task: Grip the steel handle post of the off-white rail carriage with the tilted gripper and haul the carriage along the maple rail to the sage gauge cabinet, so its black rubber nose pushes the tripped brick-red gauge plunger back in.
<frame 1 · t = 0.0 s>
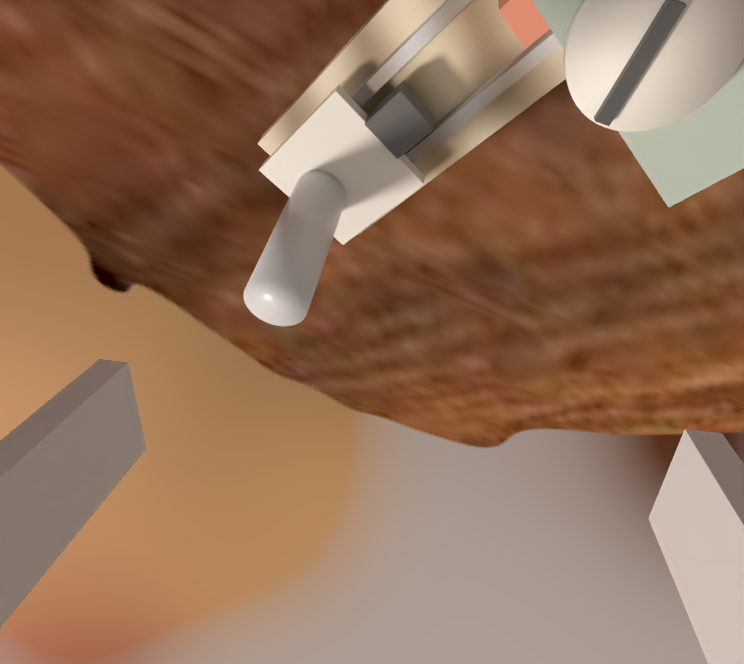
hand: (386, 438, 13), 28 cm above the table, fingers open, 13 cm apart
carriage: (340, 205, 30), point 9 cm above the table, slide at 8.7 cm
rail track: (411, 93, 34), on the table
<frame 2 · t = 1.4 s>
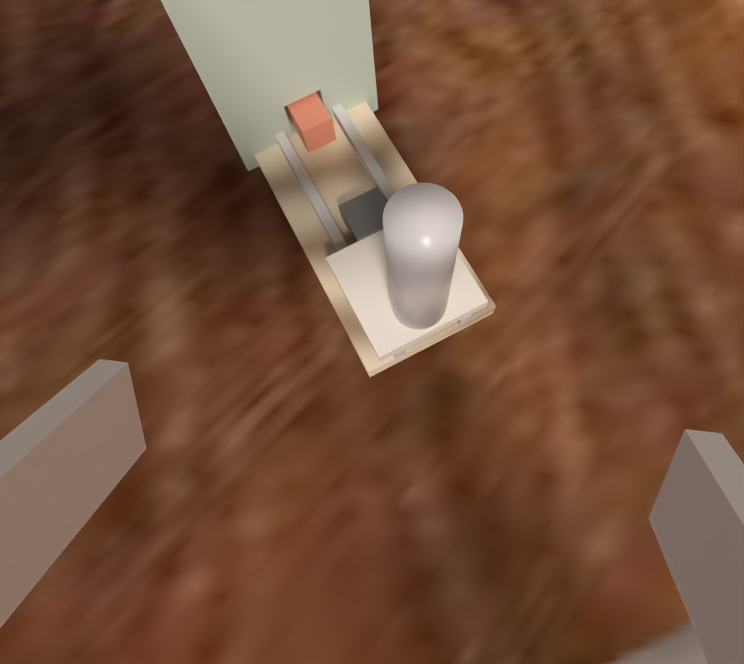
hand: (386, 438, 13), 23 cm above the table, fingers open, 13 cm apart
gauge plunger: (308, 116, 39), point 3 cm above the table, slide at 2.5 cm
carriage: (391, 224, 30), point 9 cm above the table, slide at 8.7 cm
gauge cabinet: (303, 122, 43), on the table
rail track: (368, 235, 40), on the table
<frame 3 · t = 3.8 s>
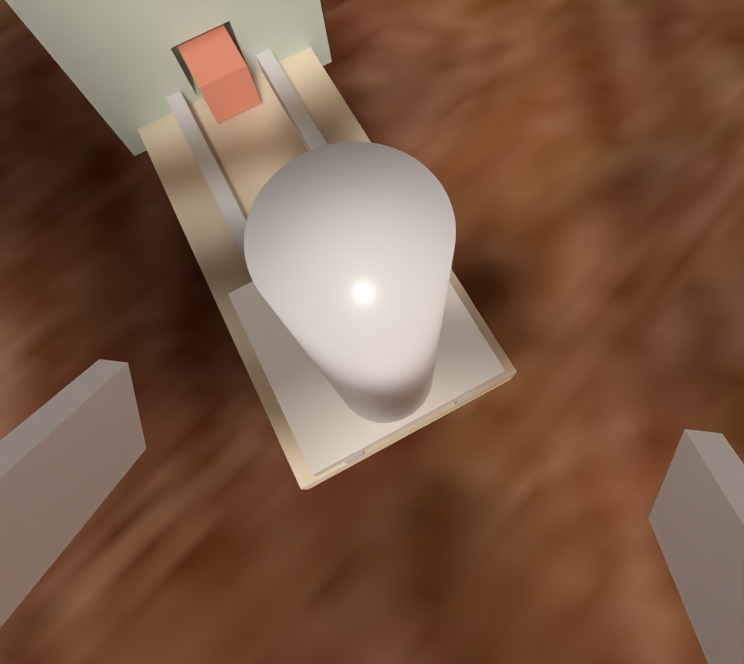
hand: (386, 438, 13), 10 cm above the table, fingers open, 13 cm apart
gauge plunger: (216, 67, 25), point 3 cm above the table, slide at 2.5 cm
carriage: (321, 241, 16), point 9 cm above the table, slide at 8.7 cm
gauge cabinet: (221, 83, 29), on the table
rail track: (312, 251, 25), on the table
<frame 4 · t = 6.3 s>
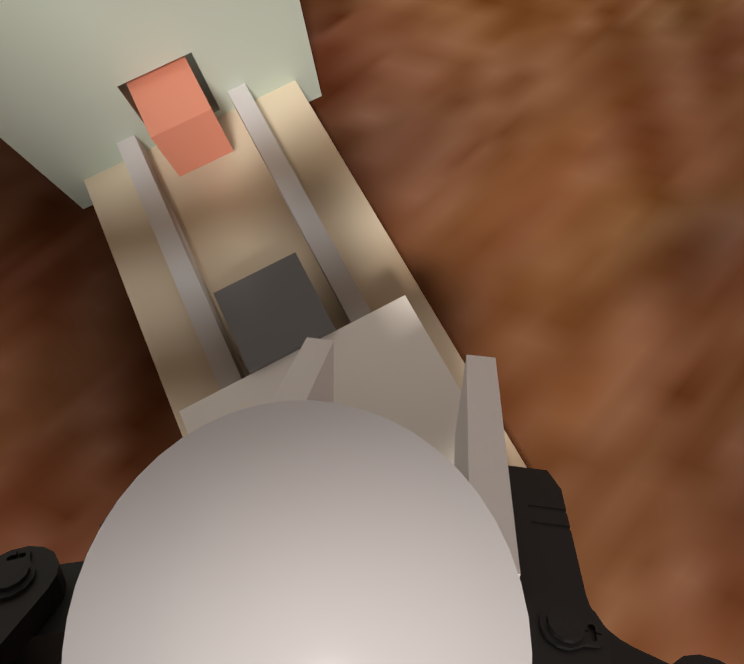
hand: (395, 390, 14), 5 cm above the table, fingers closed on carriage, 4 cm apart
gauge plunger: (176, 107, 20), point 3 cm above the table, slide at 2.5 cm
carriage: (290, 390, 11), point 9 cm above the table, slide at 8.7 cm, touching gripper
gauge cabinet: (189, 120, 24), on the table
rail track: (294, 334, 21), on the table
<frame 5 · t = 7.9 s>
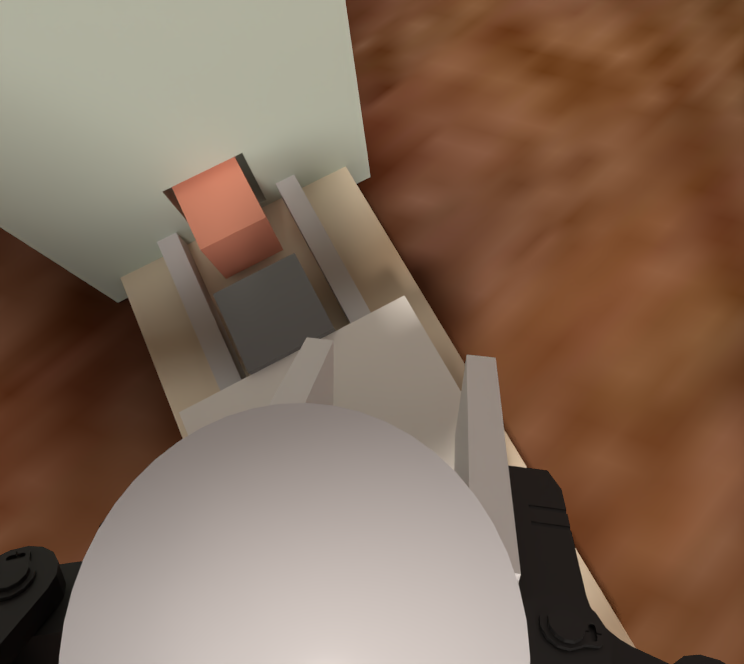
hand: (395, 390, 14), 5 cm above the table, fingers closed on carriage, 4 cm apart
gauge plunger: (223, 206, 19), point 3 cm above the table, slide at 2.5 cm
carriage: (289, 392, 11), point 9 cm above the table, slide at 3.6 cm, touching gripper
gauge cabinet: (229, 203, 23), on the table
rail track: (351, 449, 19), on the table
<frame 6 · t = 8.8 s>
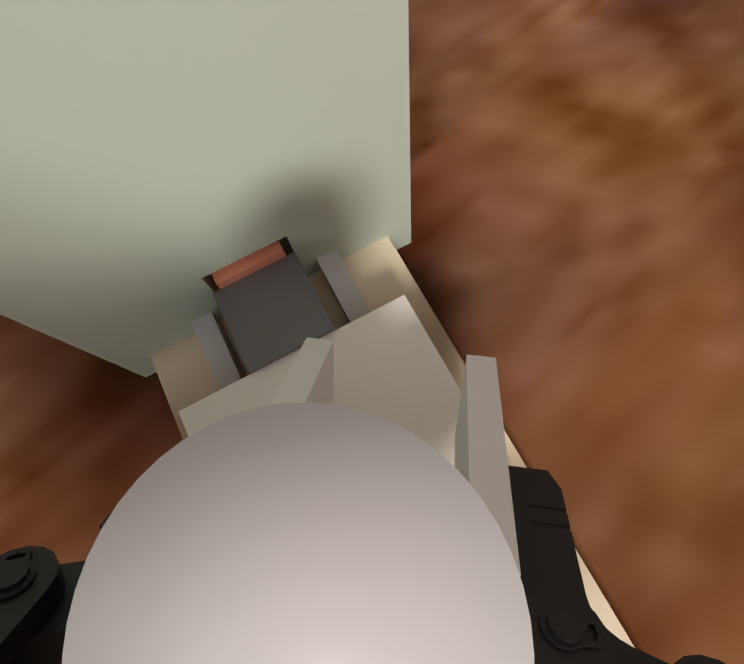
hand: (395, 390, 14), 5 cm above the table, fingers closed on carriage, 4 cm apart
gauge plunger: (238, 236, 18), point 3 cm above the table, slide at 0.3 cm, touching carriage
carriage: (290, 391, 11), point 9 cm above the table, slide at -0.1 cm, touching gauge plunger, gripper
gauge cabinet: (261, 269, 22), on the table
rail track: (397, 544, 18), on the table
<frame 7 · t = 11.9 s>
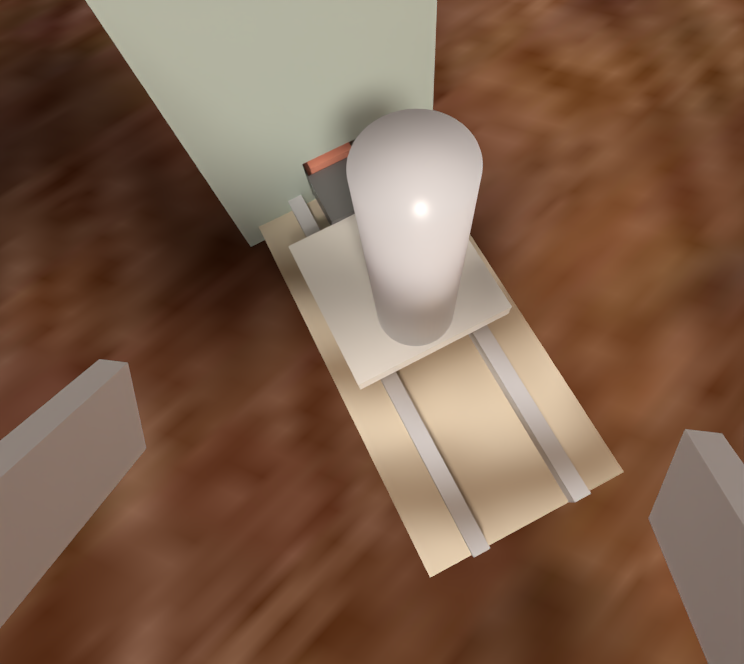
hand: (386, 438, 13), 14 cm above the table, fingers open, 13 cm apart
gauge plunger: (319, 145, 28), point 3 cm above the table, slide at 0.2 cm
carriage: (373, 194, 21), point 9 cm above the table, slide at 0.0 cm
gauge cabinet: (327, 177, 31), on the table
rail track: (421, 344, 28), on the table
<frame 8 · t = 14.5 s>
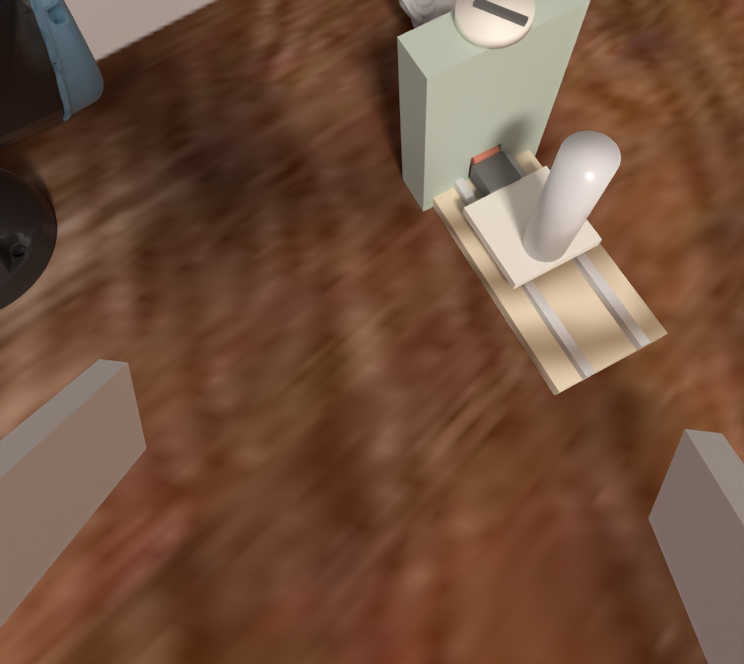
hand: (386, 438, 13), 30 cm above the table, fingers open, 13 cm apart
grey round lump: (431, 35, 54), on the table
gauge plunger: (473, 146, 45), point 3 cm above the table, slide at 0.2 cm
carriage: (534, 173, 38), point 9 cm above the table, slide at 0.0 cm
gauge cabinet: (468, 167, 49), on the table
rail track: (539, 268, 45), on the table
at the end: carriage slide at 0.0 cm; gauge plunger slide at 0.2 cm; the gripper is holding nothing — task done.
